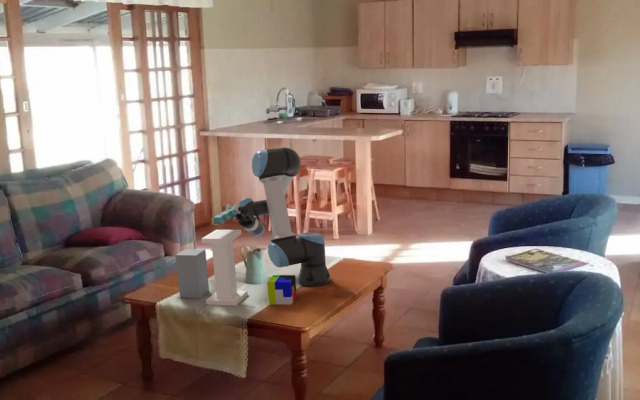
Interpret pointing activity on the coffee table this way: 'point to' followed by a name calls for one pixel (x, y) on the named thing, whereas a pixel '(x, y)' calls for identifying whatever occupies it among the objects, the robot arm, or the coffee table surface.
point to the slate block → (192, 273)
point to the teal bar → (225, 215)
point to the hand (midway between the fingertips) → (231, 206)
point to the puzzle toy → (281, 289)
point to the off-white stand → (224, 268)
